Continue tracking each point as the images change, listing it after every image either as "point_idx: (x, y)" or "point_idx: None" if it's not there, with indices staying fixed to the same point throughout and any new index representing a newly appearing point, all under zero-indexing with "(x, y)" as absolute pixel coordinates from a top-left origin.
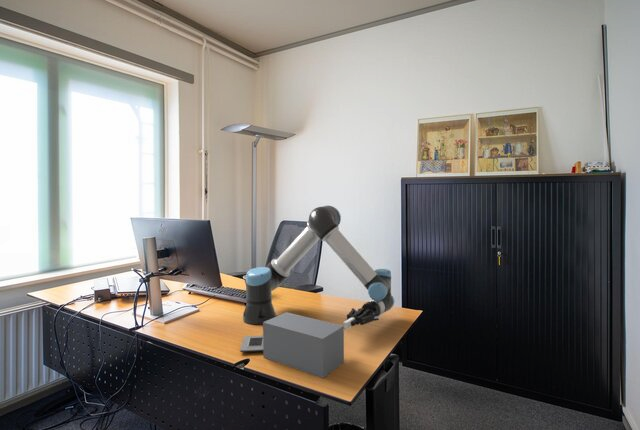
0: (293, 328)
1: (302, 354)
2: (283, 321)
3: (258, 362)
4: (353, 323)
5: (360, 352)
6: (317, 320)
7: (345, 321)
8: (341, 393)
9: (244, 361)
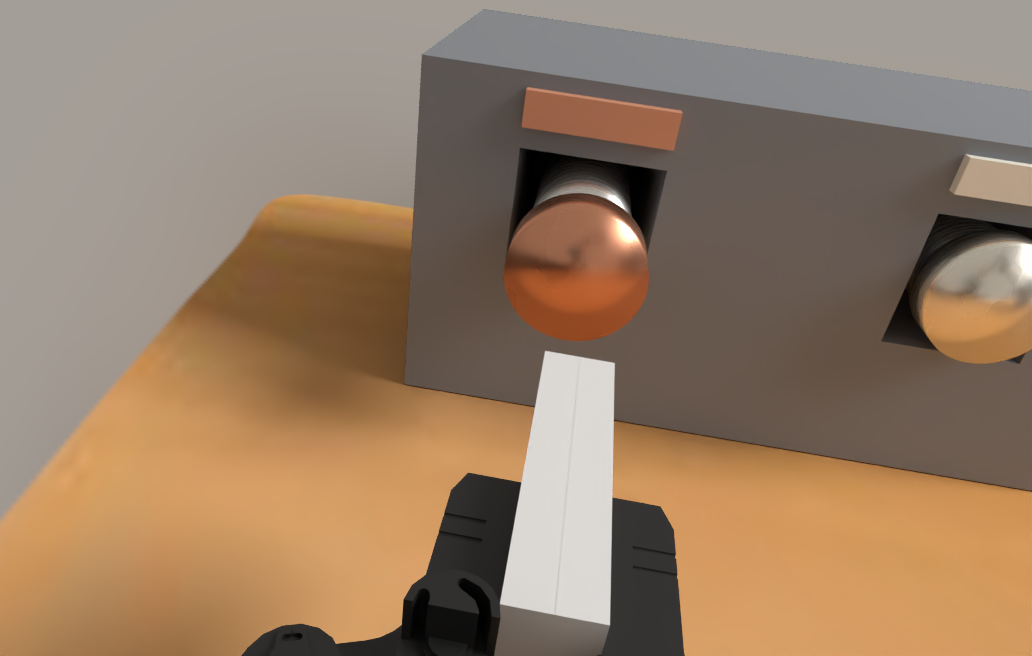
0: (765, 55)
1: None
2: (955, 95)
3: None
4: (459, 499)
5: (279, 571)
6: (750, 99)
7: (593, 388)
8: (325, 206)
9: None
